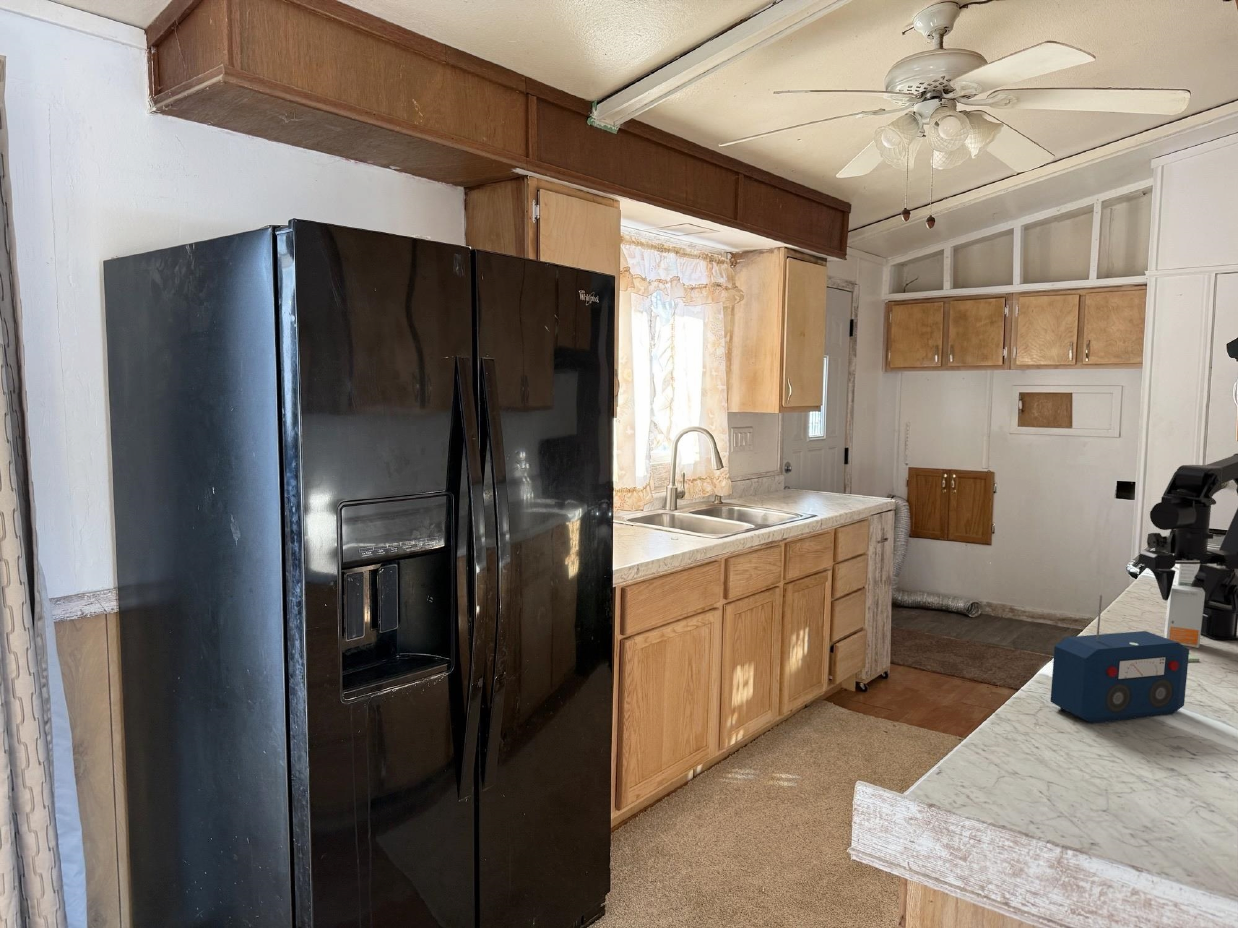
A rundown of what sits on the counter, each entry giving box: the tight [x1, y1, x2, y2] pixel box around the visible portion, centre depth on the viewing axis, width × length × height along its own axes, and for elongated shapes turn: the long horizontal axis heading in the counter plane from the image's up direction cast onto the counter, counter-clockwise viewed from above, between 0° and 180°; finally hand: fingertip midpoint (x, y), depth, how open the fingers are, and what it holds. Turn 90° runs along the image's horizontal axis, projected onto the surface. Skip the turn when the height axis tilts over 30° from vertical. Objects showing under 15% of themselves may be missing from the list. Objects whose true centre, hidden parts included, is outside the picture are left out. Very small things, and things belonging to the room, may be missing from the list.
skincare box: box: [1163, 584, 1205, 649], centre depth 179 cm, size 6×4×12 cm
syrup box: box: [1171, 554, 1201, 587], centre depth 229 cm, size 6×6×14 cm
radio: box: [1049, 594, 1190, 724], centre depth 140 cm, size 21×9×20 cm, turn 105°
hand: (1185, 599), depth 178 cm, fingers open, 9 cm apart
